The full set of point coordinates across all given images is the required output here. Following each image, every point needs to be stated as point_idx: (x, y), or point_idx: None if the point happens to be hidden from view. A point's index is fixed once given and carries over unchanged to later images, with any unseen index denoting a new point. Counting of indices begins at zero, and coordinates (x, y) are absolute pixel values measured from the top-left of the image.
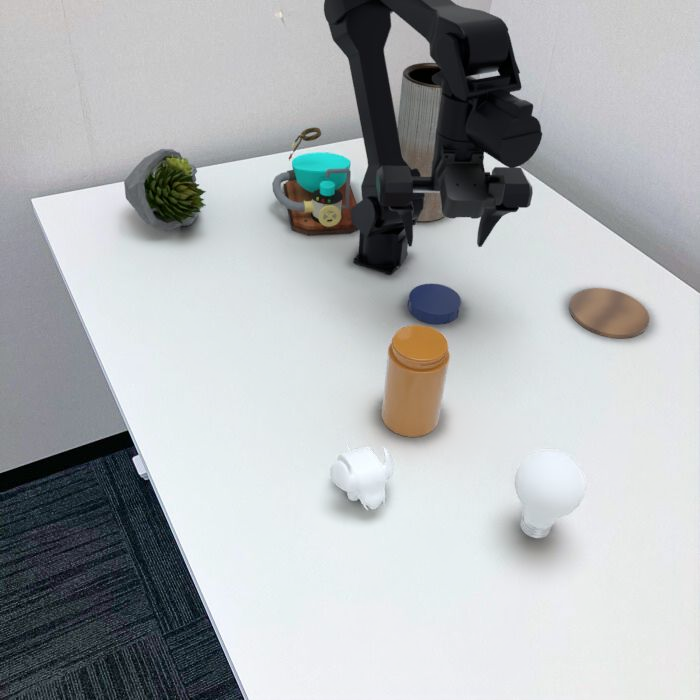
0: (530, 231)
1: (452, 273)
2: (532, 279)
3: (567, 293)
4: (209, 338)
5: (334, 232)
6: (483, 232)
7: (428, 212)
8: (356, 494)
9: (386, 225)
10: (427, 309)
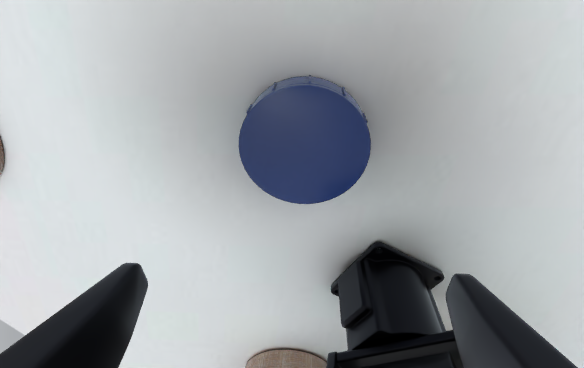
0: None
1: (250, 242)
2: (95, 224)
3: (19, 184)
4: None
5: None
6: (68, 336)
7: (280, 366)
8: None
9: (440, 362)
10: (331, 107)
